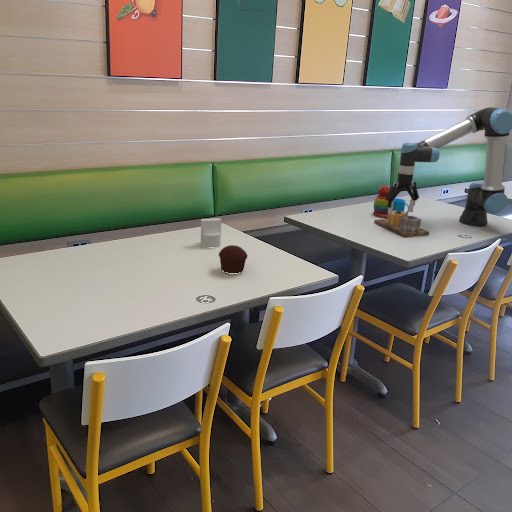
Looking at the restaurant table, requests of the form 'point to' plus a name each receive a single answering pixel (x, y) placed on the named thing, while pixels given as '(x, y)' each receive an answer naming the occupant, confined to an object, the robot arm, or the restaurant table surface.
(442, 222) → the restaurant table surface
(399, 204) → the mug
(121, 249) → the restaurant table surface
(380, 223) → the gear board
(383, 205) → the stacking bear
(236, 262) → the muffin
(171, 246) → the restaurant table surface
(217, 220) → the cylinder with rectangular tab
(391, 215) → the ochre gear
